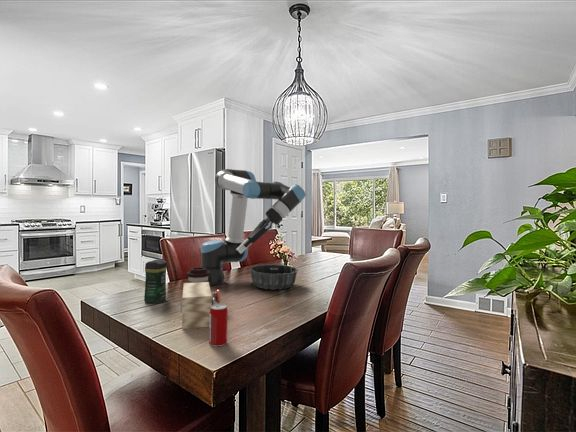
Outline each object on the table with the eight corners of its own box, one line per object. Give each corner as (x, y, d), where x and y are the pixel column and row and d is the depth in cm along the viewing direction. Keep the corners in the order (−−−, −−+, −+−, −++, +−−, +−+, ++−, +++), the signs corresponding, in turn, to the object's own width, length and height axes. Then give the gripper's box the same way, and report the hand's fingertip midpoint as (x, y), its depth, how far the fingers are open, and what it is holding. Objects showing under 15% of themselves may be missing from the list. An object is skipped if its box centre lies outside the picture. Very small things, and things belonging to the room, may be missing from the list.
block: (208, 307, 134) (208, 281, 134) (211, 326, 113) (211, 295, 113) (183, 309, 131) (183, 283, 131) (182, 329, 110) (182, 297, 110)
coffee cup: (182, 301, 142) (182, 268, 142) (201, 297, 150) (202, 265, 149) (193, 306, 136) (194, 271, 135) (213, 301, 143) (214, 268, 142)
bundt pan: (307, 287, 174) (308, 269, 173) (272, 295, 155) (272, 275, 155) (275, 279, 192) (275, 262, 192) (239, 285, 173) (240, 267, 173)
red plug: (218, 301, 133) (219, 288, 133) (220, 305, 128) (220, 291, 127) (188, 303, 129) (188, 289, 129) (188, 307, 124) (188, 293, 124)
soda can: (229, 344, 99) (230, 306, 98) (213, 348, 96) (213, 309, 95) (222, 338, 103) (223, 301, 103) (206, 342, 100) (206, 304, 100)
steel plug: (214, 310, 122) (214, 295, 121) (215, 314, 116) (215, 299, 116) (180, 312, 118) (181, 297, 118) (180, 317, 113) (180, 301, 113)
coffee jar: (158, 304, 137) (159, 261, 137) (141, 303, 138) (141, 261, 138) (169, 298, 147) (169, 258, 147) (152, 297, 148) (153, 257, 147)
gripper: (287, 219, 134) (247, 260, 129) (278, 218, 146) (242, 255, 142) (275, 207, 132) (234, 247, 128) (268, 207, 145) (230, 243, 140)
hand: (238, 251), depth 135 cm, fingers closed
